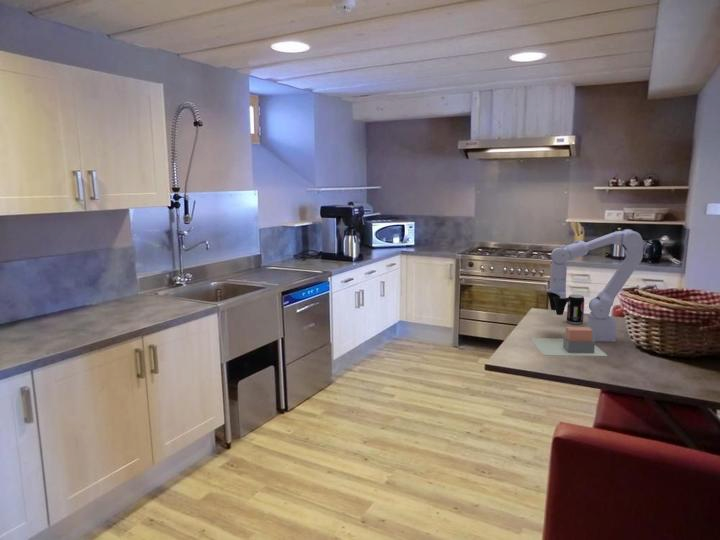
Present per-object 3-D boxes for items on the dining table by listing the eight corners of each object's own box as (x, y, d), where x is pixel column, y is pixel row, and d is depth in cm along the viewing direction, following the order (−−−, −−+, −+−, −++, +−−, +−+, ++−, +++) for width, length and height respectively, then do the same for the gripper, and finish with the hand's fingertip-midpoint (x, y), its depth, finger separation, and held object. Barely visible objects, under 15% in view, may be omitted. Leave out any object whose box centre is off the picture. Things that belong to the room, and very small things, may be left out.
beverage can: (578, 325, 217) (580, 298, 215) (563, 322, 222) (565, 295, 220) (585, 322, 221) (587, 295, 220) (571, 319, 226) (572, 293, 224)
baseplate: (587, 339, 198) (587, 338, 197) (607, 356, 178) (607, 355, 178) (529, 339, 200) (529, 338, 200) (543, 355, 180) (543, 354, 180)
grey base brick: (588, 347, 187) (588, 337, 186) (594, 352, 181) (594, 342, 180) (563, 347, 188) (563, 336, 187) (568, 352, 182) (568, 341, 181)
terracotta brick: (587, 337, 186) (588, 327, 185) (592, 341, 181) (592, 330, 181) (565, 337, 186) (565, 326, 186) (569, 341, 182) (569, 330, 181)
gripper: (543, 275, 206) (541, 307, 208) (553, 282, 192) (551, 316, 194) (560, 275, 205) (559, 308, 208) (572, 282, 191) (570, 317, 193)
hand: (556, 312), depth 201 cm, fingers open, 7 cm apart
